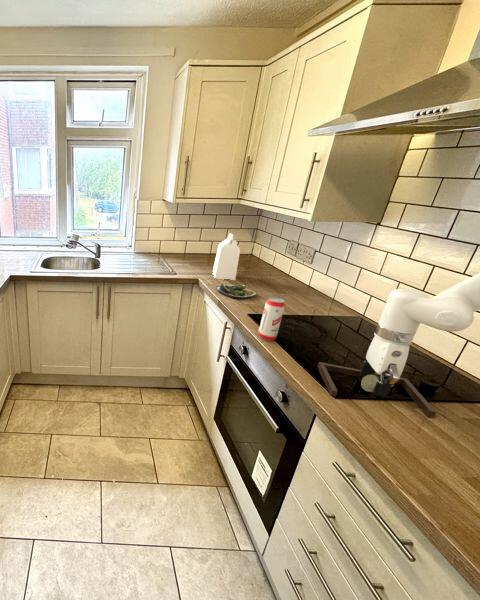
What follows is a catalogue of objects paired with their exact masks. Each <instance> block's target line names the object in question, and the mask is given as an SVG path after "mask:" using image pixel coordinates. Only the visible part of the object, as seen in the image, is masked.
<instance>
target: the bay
mask: <svg viewBox="0 0 480 600" xmlns="http://www.w3.org/2000/svg"><path fill="white" fill-rule="evenodd" d="M317 367H318V368H317ZM317 367H316V368H317V370H318V369H319V370H318V372H319V374H320V376H321V378H322V381H323V382H324V385H325V387H326V389H327V391H328V393H329V395H330V397H334V398H336V397H337V394H338V392H339V391H338V388H337V387H336V385H335V383H334V381H333V379H332V377H331V374H330V373H329V372H332V373H337V374H343V375H347V376H353V377H357V378H362V379H363V377H365V376H361V375H360V371H361V369H357V368H352V367H347V366H342V365H337V364H332V363H327V362H322V361H319V362H318V364H317ZM374 375H375V376H378V377H379V374H378V373H377V372H375V374H374ZM385 379H389V377H387V376H384V380H385ZM395 385H397V386H401V387H402V388H403V389H404V391H406V393H407V394H408V395H409V397H411V399H412V400H413V401H414V403H415V404H416V405H417V406H418V408H419V409H420V410H421V411H422V412H423V414H424V415H425V416H426V417H427V418H430V419H434V418H435V416H436V415H437V410H435V408H433V406H432V405H431V404H430V403H429V402H428V401H427V399H426V398H424V396H423V395H422V394H421V393H420V392H419V390H418V389H417V388H416V387H415V386H414V385H413V384H412V383H411V382H410V380H409V378H405V377H401V376H400V377H399V380H398V381H397V382H396V384H395Z"/></svg>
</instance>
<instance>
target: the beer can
mask: <svg viewBox="0 0 480 600" xmlns="http://www.w3.org/2000/svg"><path fill="white" fill-rule="evenodd" d="M285 307H286V304H285V300H284V299H282V298H280V297H274V296H272V297H271V296H270V297H268V299H267V300H266V302H265V305H264V308H263V313H262V316H261V320H260V325H259V328H258V332H257V335H258V337H259V338H260V339H262V341H263V340H264V341H268V342H272V341H274V340H276V339H277V337H278V333H279V330H280V326H281V322H282V320H283V319H282V318H283V316H284V312H285Z"/></svg>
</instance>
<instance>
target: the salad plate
mask: <svg viewBox="0 0 480 600" xmlns="http://www.w3.org/2000/svg"><path fill="white" fill-rule="evenodd" d="M214 287H215V288H216V291H217V292H218V293H219V294H220V295H222V296H224V297H226V298H230V299H234V300H244V299H248V298H249V299H250V298H251V297H254V296H256V295H257V292H256V291H254V290H251V289H250V288H251V286H246V285H245V284H243V285H242V284H228V285H227V284H226V283H221V284H220V285H215V286H214Z"/></svg>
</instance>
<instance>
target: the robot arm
mask: <svg viewBox="0 0 480 600" xmlns="http://www.w3.org/2000/svg"><path fill="white" fill-rule="evenodd" d="M478 311H480V272H479V273H477V274H475V275H472V276H471V277H468V278H467V279H464V280H463V281H460V282H459V283H457V284H455V285H453V286H451V287H449V288H447V289H445V290H443V291H441V292H440V293H438V294H436V295H435V296H433V298H431V297H430V296H429V294H427V293H425V292H424V291H420V290H416V289H410V288H396V289H395V288H394V289H393V290H392V291H391V292H390V293H389V294H388V297H387V299H386V302H385V304H384V307H383V310H382V312H381V315H380V318H379V320H378V323H377V325H376V327H375V331H374V333H373V335H374V336H373V338H372V341H371V342H370V344H369V346H368V347H367V351H366V353H365V359H363V363H362V367H361V369H360V370H361V371H360V375H361V376H367V375H374V374H375V373H378V374H379V382H376V385H375V387H374V389H373V392H371V393H372V395H373V396H378V397H382V398H387V397H388V396H389V395H390V392H391V390H392V387H394V386H395V385H397V384H396V382H397V381H398V380H399V377H401V376H402V373H403V372H404V368H405V366H406V364H407V360H408V357H409V352H410V345H411V344H412V342H413V340H414V338H415V336H416V334H417V331H418V329H419V327H420V324H422V325H425V326H427V327H430V328H433V329H435V330H438V331H443V332H448V333H449V332H450V333H451V332H452V333H454V332H455V333H456V332H461V331H464V330H466V329H468V328H470V326H471V325H472V324H473V322H474V319H475V318H474V316H475V315H474V314H475V312H478ZM384 376H387V377H389V379H385V380H384Z"/></svg>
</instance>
